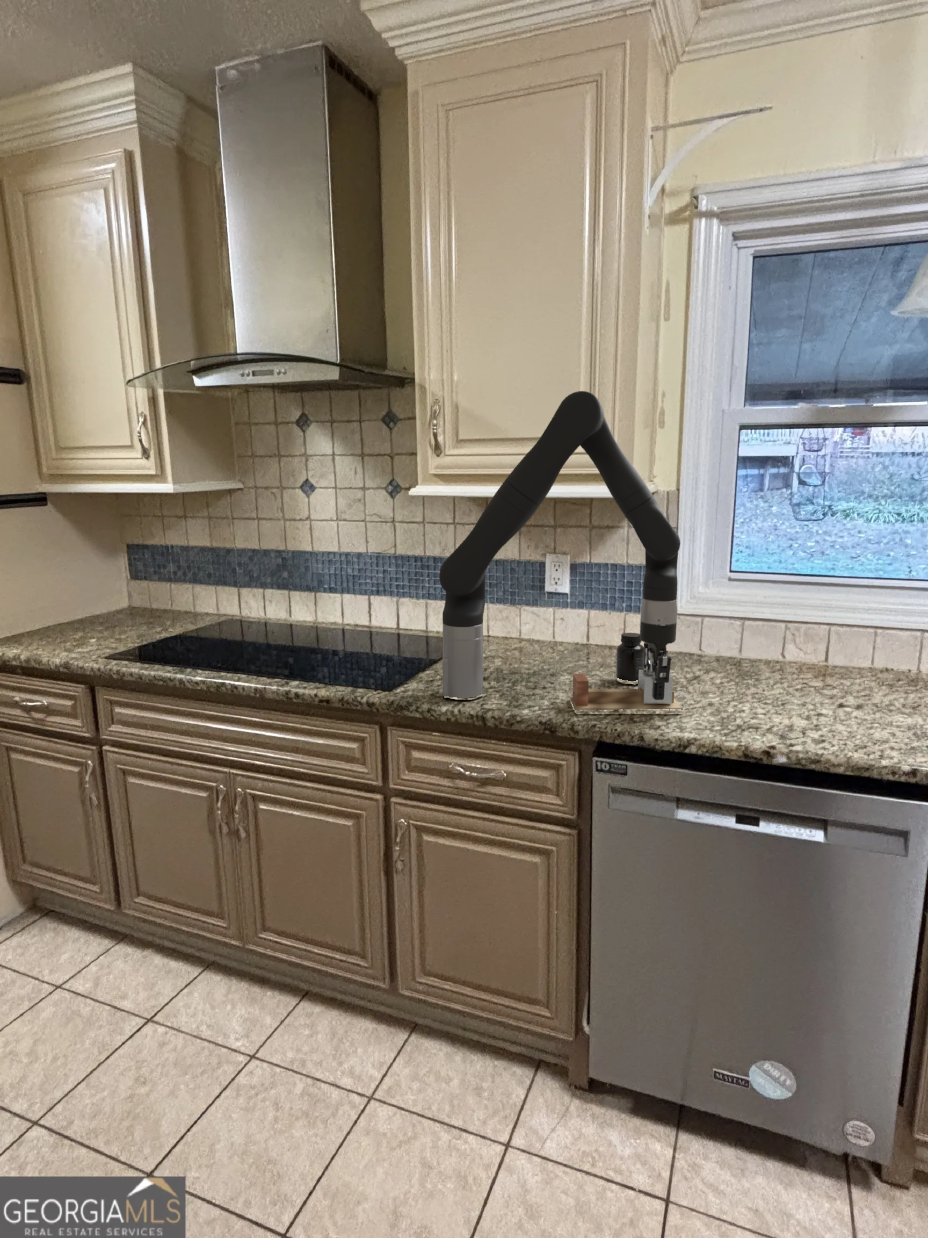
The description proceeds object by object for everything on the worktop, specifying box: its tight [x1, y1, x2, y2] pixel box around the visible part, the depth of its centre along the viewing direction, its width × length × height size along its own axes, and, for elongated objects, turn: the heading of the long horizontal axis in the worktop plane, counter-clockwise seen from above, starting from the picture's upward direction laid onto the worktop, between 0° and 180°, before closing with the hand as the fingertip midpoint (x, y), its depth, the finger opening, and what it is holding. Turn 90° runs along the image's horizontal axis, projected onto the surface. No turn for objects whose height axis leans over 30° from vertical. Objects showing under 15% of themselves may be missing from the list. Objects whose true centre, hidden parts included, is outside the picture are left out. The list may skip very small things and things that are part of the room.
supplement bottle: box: [615, 632, 646, 681], centre depth 178 cm, size 7×7×12 cm
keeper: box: [637, 669, 674, 704], centre depth 159 cm, size 6×6×6 cm
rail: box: [568, 673, 684, 711], centre depth 159 cm, size 23×9×7 cm, turn 90°
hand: (654, 694), depth 159 cm, fingers closed on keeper, 5 cm apart
